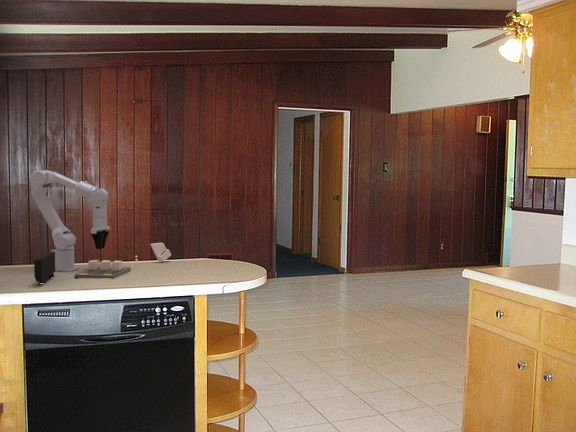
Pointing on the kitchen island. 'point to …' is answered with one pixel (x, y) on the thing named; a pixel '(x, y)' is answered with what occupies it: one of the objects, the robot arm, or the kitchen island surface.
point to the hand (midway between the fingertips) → (100, 248)
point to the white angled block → (161, 251)
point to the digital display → (44, 267)
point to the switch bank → (102, 273)
